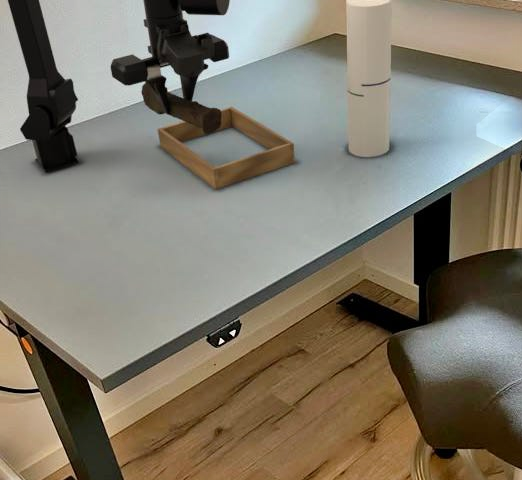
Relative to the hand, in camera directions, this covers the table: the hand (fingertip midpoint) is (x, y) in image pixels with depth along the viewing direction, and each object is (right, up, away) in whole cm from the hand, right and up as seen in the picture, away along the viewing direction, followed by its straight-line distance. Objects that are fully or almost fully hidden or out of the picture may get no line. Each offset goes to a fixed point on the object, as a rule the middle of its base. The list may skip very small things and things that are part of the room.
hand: (177, 110), depth 133 cm
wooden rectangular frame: (+7, -5, +11) cm, 14 cm away
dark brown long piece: (0, -1, +1) cm, 2 cm away
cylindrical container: (+33, -4, +8) cm, 34 cm away
